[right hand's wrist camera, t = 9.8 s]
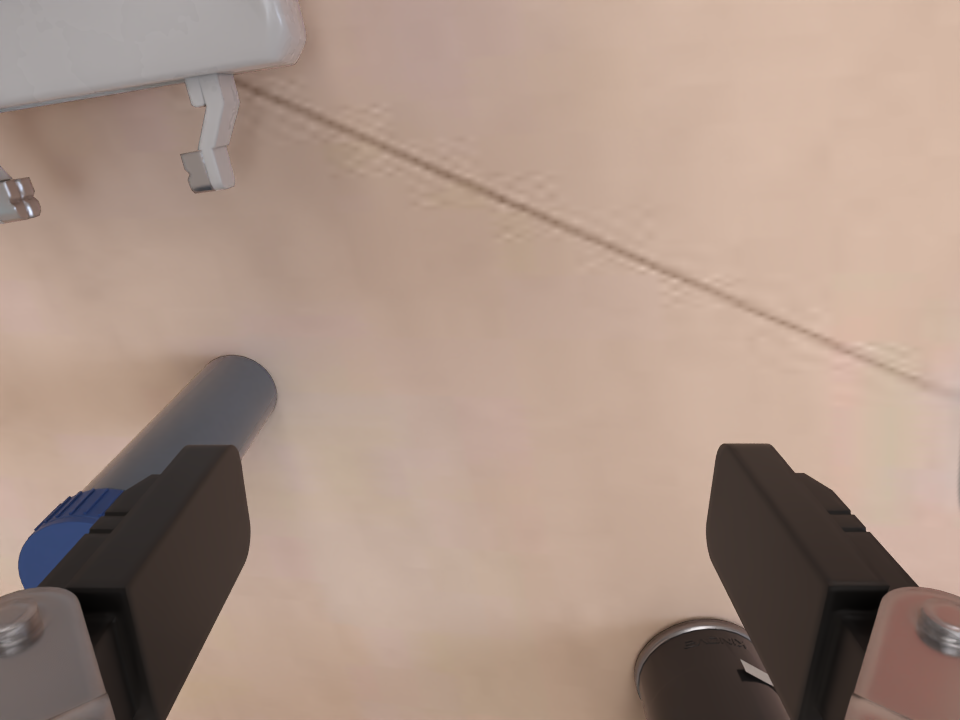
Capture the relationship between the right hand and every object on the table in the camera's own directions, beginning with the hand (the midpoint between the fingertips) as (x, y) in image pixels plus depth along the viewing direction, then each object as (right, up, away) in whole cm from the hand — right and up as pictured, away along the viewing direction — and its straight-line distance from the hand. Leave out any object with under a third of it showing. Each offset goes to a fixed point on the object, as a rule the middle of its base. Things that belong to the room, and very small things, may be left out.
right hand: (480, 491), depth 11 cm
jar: (-15, 0, +30) cm, 33 cm away
